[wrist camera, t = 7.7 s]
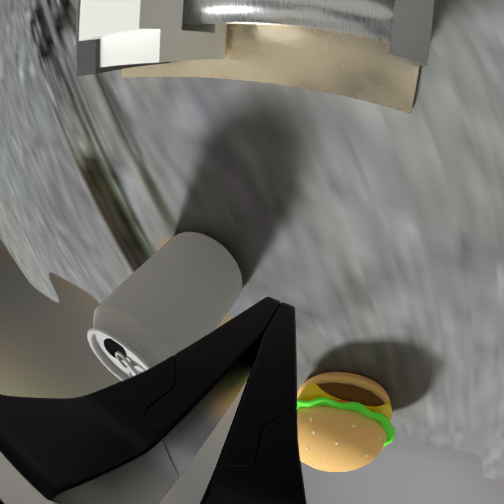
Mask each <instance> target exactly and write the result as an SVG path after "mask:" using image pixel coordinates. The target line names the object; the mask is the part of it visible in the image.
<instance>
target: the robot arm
mask: <svg viewBox="0 0 504 504" xmlns="http://www.w3.org/2000/svg"><path fill="white" fill-rule="evenodd" d="M247 379H248V380H247ZM246 381H247V383H246V386H245V388H244V391H243V394H242V397H241V400H240V402H239V405H238V408H237V411H236V413H235V416H234V419H233V422H232V424H231V427H230V430H229V433H228V435H227V438H226V441H225V443H224V446H223V449H222V451H221V454H220V457H219V459H218V462H217V464H216V467H215V470H214V472H213V475H212V477H211V480H210V482H209V484H208V487H207V489H206V491H205V493H204V496H203V498H202V500H201V502H200V504H307V503H306V497H305V490H304V483H303V476H302V469H301V462H300V454H299V444H298V425H297V409H296V408H297V358H296V322H295V307H294V306H292V305H289V304H286V303H284V302H282V303H281V304H280V301H279V300H276V299H273V298H271V297H266V298H264V299H263V300H261V301H259V302H258V303H256V304H255V305H253V306H252V307H250V308H249V309H247V310H245V311H244V312H242V313H241V314H239V315H238V316H236V317H234V318H233V319H231V320H230V321H228V322H227V323H225V324H223V325H222V326H220V327H219V328H217V329H215V330H214V331H212V332H210V333H209V334H207V335H206V336H204V337H202V338H201V339H199V340H197V341H196V342H194V343H192V344H191V345H189V346H188V347H186V348H184V349H183V350H181V351H179V352H178V353H176V354H175V356H174V355H172V356H171V357H169V358H167V359H166V360H164V361H162V362H160V363H159V364H157V365H155V366H153V367H151V368H149V369H148V370H146V371H143V372H141V373H139V374H137V375H135V376H132V377H130V378H128V379H126V380H123V381H121V382H118V383H116V384H114V385H111V386H109V387H106V388H104V389H101V390H99V391H96V392H94V393H91V394H88V395H85V396H81V397H76V398H67V399H60V398H58V399H56V398H31V397H14V396H6V395H1V394H0V504H159V503H160V502H161V500H162V499H163V498H164V497H165V495H166V494H167V493H168V491H169V490H170V488H171V487H172V486H173V485H174V484H175V482H176V481H177V480H178V478H179V476H180V475H181V474H182V473H183V471H184V470H185V469H186V467H187V466H188V465H189V463H190V462H191V461H192V459H193V458H194V456H195V455H196V454H197V452H198V451H199V449H200V448H201V447H202V445H203V444H204V442H205V441H206V440H207V438H208V437H209V435H210V434H211V433H212V431H213V430H214V428H215V427H216V425H217V424H218V422H219V421H220V420H221V418H222V417H223V415H224V414H225V412H226V411H227V409H228V408H229V406H230V405H231V404H232V402H233V400H234V399H235V398H236V396H237V395H238V393H239V392H240V390H241V388H242V387H243V385H244V384H245V382H246Z"/></svg>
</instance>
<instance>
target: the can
mask: <svg viewBox="0 0 504 504" xmlns="http://www.w3.org/2000/svg"><path fill="white" fill-rule="evenodd" d="M241 289H242V274H241V272H240V269H239V267H238V265H237V262H236V261H235V259H234V258H233V257H232V256H231V254H230V253H229V252H228V250H227V249H226V248H225V247H224V246H222V245H221V244H220V243H219V242H217V241H216V240H214V239H212V238H210V237H208V236H206V235H204V234H201V233H195V232H184V233H179V234H177V235H176V236H174V237H173V238H172V239H170V240H169V241H168V242H167V243H166V244H165V245H164V246H163V247H161V248H160V249H159V250H158V251H157V252H156V253H155V254H154V255H153V256H151V257H150V258H149V259H148V260H147V261H146V262H145V263H144V264H143V265H142V266H140V267H139V268H138V269H137V270H136V271H135V272H134V273H133V274H132V275H131V276H130V277H129V278H128V279H127V280H125V281H124V282H123V283H122V284H121V285H120V286H119V287H118V288H117V289H116V290H115V291H114V292H113V293H112V294H111V295H110V296H109V297H108V298H107V299H106V300H104V301H103V302H102V303H101V304H100V306H98V307H97V308H96V309H95V313H94V327H92V328H90V329H89V330H88V334H87V337H88V341H89V344H90V346H91V348H92V350H93V351H94V353H95V354H96V356H97V357H98V358H99V359H100V361H101V362H102V363H103V364H104V365H105V366H106V367H107V368H108V369H109V370H110V371H111V372H112V373H113V374H114V375H116V376H117V377H118V378H119V379H120V380H122V381H123V380H126V379H128V378H130V377H132V376H135V375H137V374H139V373H141V372H143V371H146V370H148V369H149V368H151V367H153V366H155V365H157V364H159V363H160V362H162V361H164V360H166V359H167V358H169V357H171V356H172V355H174V356H175V354H176V353H178V352H179V351H181V350H183V349H184V348H186V347H188V346H189V345H191V344H192V343H194V342H196V341H197V340H199V339H201V338H202V337H204V336H206V335H207V334H209V333H210V332H212V331H214V330H215V329H217V328H218V326H219V325H220V323H221V322H222V320H223V318H224V317H225V316H226V314H227V313H228V311H229V310H230V308H231V307H232V305H233V304H234V302H235V301H236V299H237V298H238V296H239V295H240V292H241Z"/></svg>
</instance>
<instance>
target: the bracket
mask: <svg viewBox="0 0 504 504" xmlns="http://www.w3.org/2000/svg"><path fill="white" fill-rule="evenodd" d="M183 2H184V0H81V4H80V21H79V41H85V40H94V39H100V67H108V66H117V65H128V64H141V63H160V62H171V61H185V60H205V59H225V45H226V31H227V24H208V25H189V26H182V16H183Z"/></svg>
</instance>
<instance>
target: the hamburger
mask: <svg viewBox="0 0 504 504" xmlns="http://www.w3.org/2000/svg"><path fill="white" fill-rule="evenodd" d="M297 398H298V399H297V408H296V409H297V425H298V444H299V454H300V461H301V462H303V463H305V464H307V465H309V466H311V467H313V468H315V469H318V470H323V471H328V472H342V471H343V472H347V471H352V470H355V469H358V468H360V467H362V466H364V465H367V464H369V463H370V462H372V461H373V460H374V459H375V458H376V457H377V455H378V454H379V453H380V452H381V451H382V449H383V448H384V447H385V446H386V445H387V444H389V443H391V442H392V441H393V439H394V436H395V428H394V427H393V426H392V425H391V423H390V420H391V416H392V407H391V403H390V399H389V396H388V394H387V392H386V391H385V390H384V388H383V387H382V386H380V385H379V384H378V383H377V382H375V381H373V380H372V379H369V378H367V377H365V376H361V375H358V374H354V373H348V372H327V373H322V374H319V375H316V376H314V377H312V378H310V379H308V380H307V381H306V382H304V383H303V385H302V386H301V387H300V389H299V391H298V395H297Z"/></svg>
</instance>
